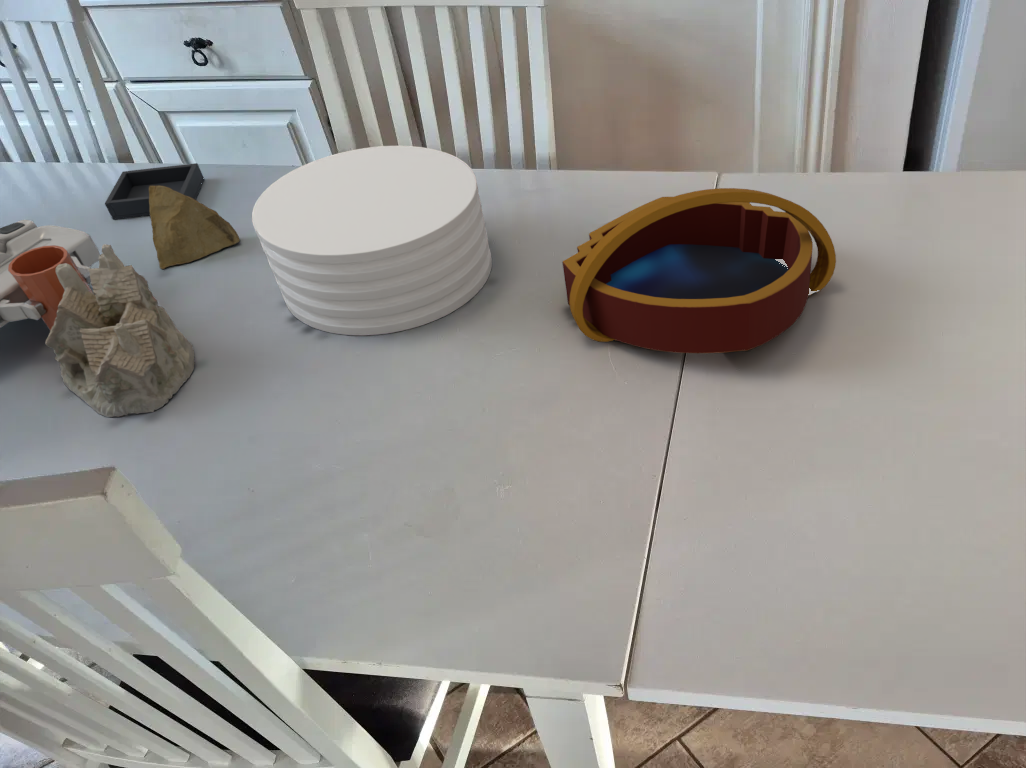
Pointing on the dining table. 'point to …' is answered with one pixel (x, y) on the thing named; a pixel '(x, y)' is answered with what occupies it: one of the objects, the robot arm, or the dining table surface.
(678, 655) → the dining table surface
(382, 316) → the plate stack
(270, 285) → the dining table surface
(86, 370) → the ceramic cottage
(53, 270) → the cup
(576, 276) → the decorative basket
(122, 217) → the tray
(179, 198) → the rock
